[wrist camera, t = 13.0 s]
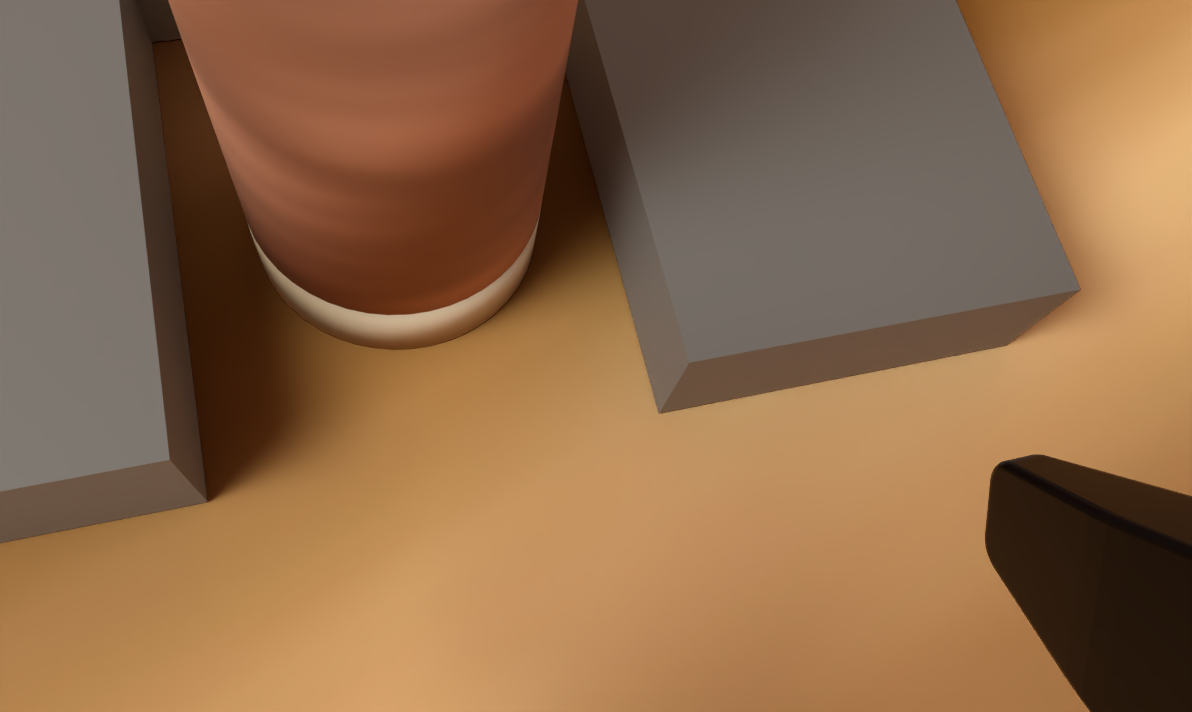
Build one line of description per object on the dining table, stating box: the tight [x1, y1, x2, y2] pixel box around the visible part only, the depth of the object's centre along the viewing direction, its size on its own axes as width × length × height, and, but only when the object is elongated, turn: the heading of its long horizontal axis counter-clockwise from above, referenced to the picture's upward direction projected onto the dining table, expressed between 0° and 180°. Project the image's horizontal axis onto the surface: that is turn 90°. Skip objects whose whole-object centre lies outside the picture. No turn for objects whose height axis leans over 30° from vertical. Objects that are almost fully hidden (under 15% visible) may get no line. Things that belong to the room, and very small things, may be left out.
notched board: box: [0, 0, 1081, 543], centre depth 19 cm, size 15×21×2 cm
